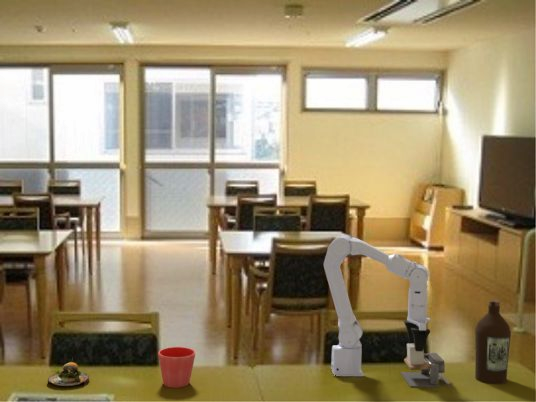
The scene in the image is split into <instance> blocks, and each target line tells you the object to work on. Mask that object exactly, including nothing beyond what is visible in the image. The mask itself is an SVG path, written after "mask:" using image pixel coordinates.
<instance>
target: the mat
mask: <svg viewBox="0 0 536 402" xmlns="http://www.w3.org/2000/svg"><path fill="white" fill-rule="evenodd" d="M401 374H402V375H401ZM400 375H401V377H402V378H403V379H404V380H405V382H406V384H408V387H410V388H440V384H438V385H430V384H429V382H430V373H429V374H421V371H420V372H418V371H417V372H414V371H413V372H412V371H407V372H406V371H405V372H404V371H401V372H400Z"/></svg>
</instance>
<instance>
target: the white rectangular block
mask: <svg viewBox="0 0 536 402" xmlns="http://www.w3.org/2000/svg"><path fill="white" fill-rule="evenodd" d="M424 351H425V350H424V349H423V351H416V350H415V345H414V343H411V344H410V343H406V353H407V354H406V357H407V361H408V362H409V364H410V365H419V364H424V354H425V352H424Z"/></svg>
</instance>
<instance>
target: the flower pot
mask: <svg viewBox="0 0 536 402" xmlns="http://www.w3.org/2000/svg"><path fill="white" fill-rule="evenodd" d="M157 356H158V361H159V367H160V372H161V377H162V383H163V385H164V386H165V387H168V388H183V387H186V386H188V385H189V384H190V382H191V378H192V374H193V373H192V372H193V368H194V363H195V362H194V361H195V359H196V358H195V357H196V351H195V350H194V349H192V348H190V347H183V346H173V347H166V348H162V349H160V350H159V351H158V355H157Z"/></svg>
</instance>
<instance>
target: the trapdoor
mask: <svg viewBox="0 0 536 402" xmlns="http://www.w3.org/2000/svg"><path fill="white" fill-rule="evenodd" d="M427 354H428V360H429V361H430V362H431V363H432V364H439V373H441V374H444V373H445V372H446V370H445V360H444V359H443V358H442V357H441V356H440V355H439V354H438V353H437V352H428V353H427ZM403 361H404V363H405V364H406V366H407V367H408V369H410V370H411V371H414V370H415V371H416V370H417V371H419V370H420V371H421V369H429V370H430V364H429V363H428V362H427V361H426V360H425V359H424V364H419V365H410V364H409V362H408V361H407V359H406V358H404V359H403Z"/></svg>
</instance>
